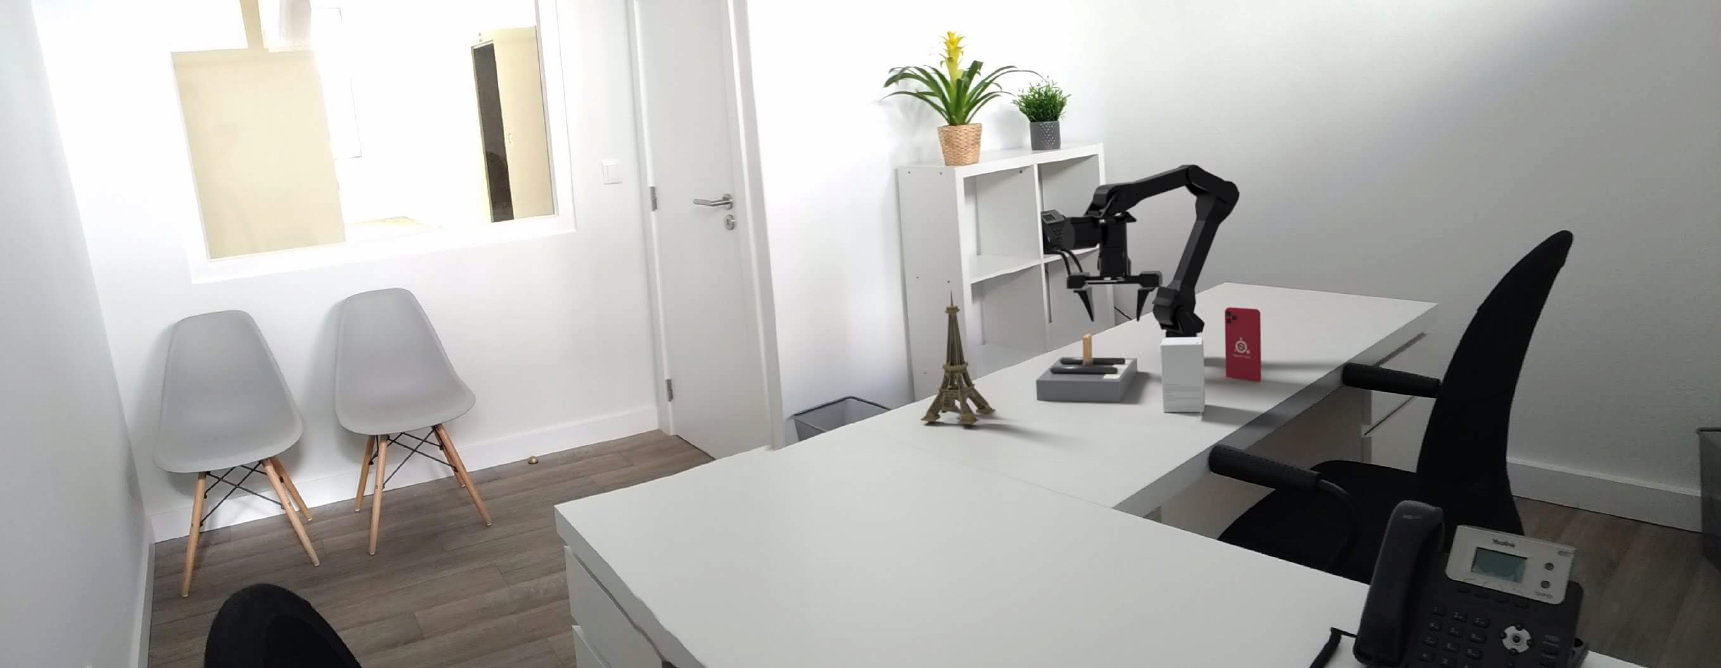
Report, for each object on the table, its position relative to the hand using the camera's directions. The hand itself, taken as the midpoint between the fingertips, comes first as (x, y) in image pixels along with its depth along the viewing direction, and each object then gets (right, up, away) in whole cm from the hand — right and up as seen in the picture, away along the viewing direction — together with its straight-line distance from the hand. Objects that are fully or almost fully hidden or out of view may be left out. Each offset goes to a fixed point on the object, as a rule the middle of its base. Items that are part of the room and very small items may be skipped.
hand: (1115, 321), depth 224 cm
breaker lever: (-7, -9, -6) cm, 13 cm away
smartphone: (+23, -13, -10) cm, 28 cm away
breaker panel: (-7, -14, -5) cm, 16 cm away
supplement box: (+6, -16, -26) cm, 31 cm away
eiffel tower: (-34, -18, -19) cm, 43 cm away
